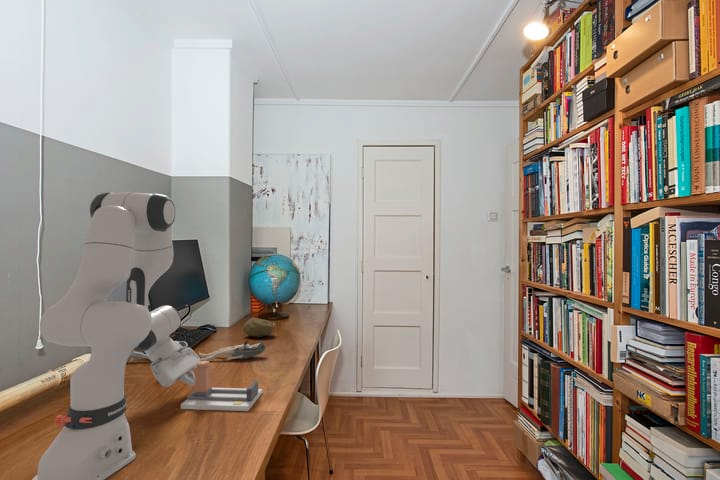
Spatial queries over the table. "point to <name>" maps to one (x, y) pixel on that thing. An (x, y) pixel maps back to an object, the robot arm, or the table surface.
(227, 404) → the rail board
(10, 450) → the table surface
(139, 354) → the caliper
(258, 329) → the decorative stone
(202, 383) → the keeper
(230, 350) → the anime figure
